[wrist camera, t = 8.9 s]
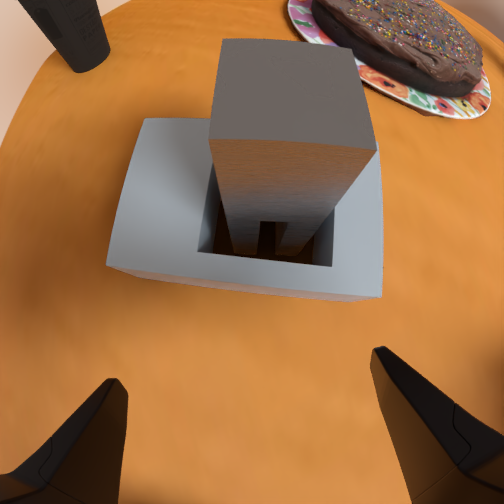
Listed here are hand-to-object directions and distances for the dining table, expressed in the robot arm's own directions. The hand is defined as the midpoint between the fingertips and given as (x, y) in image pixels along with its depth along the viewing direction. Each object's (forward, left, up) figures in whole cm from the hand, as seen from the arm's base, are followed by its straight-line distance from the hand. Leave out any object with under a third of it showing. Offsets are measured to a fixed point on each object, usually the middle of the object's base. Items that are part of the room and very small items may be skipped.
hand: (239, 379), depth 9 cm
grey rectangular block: (+8, 0, -9) cm, 12 cm away
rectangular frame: (+8, +1, -9) cm, 12 cm away
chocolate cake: (+35, -14, -10) cm, 39 cm away
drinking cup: (+26, +21, -9) cm, 34 cm away
